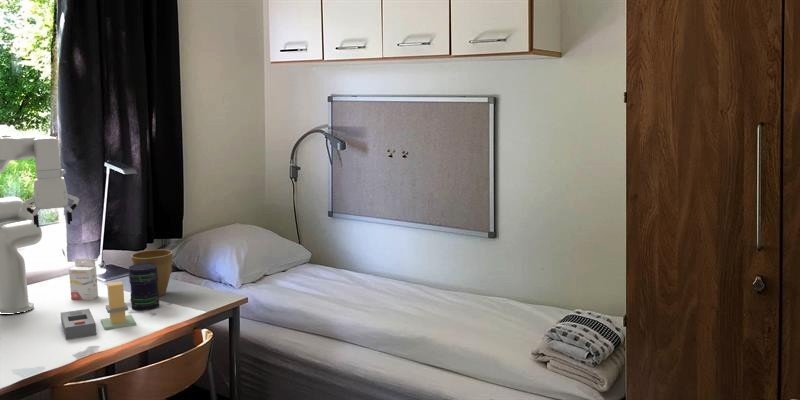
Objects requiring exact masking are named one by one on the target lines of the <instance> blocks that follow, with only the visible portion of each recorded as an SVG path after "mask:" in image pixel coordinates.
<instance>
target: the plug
mask: <svg viewBox="0 0 800 400" xmlns="http://www.w3.org/2000/svg"><path fill="white" fill-rule="evenodd" d="M106 284H107V285H106V286H107V299H108V304H105V310H106V312H107V314H109V318H110V321H111V323H112V324H115V323H121V322H126V317H125V316H126V312H127V311H129V307H128V305H127V303H126V302H125V292H124V284H123V281H121V280H119V281H114V282H113V281H112V282H111V281H110V282H107V283H106Z"/></svg>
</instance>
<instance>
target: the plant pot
mask: <svg viewBox="0 0 800 400" xmlns="http://www.w3.org/2000/svg"><path fill="white" fill-rule="evenodd" d="M173 254H174V253H173V251H172V250H170V249H149V250H142V251H138V252H134V253H132V254H131V255H130V257H131V261H132V265H136V264H143V263H152V264H156V265H157V272H158V281H157V285H158V291H159V297H162V296H164V295H166V292H167V289H168V285H169V281H170V277H171V272H172V266H173V265H172V264H173Z"/></svg>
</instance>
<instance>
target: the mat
mask: <svg viewBox="0 0 800 400" xmlns="http://www.w3.org/2000/svg"><path fill="white" fill-rule="evenodd" d="M125 317H126V322H121V323H115V324H112V323H111V321H110V317H108V318H107V317H106V318H101V319H100V323H101V325H102V327H103V330H105V331H107V330H113V329H119V328H124V327H125V328H126V327H132V326H137V322H136V321H135V318H134V317H133V315H132V314H127V315H126V314H125Z"/></svg>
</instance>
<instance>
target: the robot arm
mask: <svg viewBox="0 0 800 400" xmlns="http://www.w3.org/2000/svg"><path fill="white" fill-rule="evenodd" d="M60 155H61V154H60V143H59V140H58V138H57V137H55V136H45V135H27V136H16V137H15V136H14V135H13V134H12V133H10V132H7V131H0V174H2V173H3V172H5V170H6V168H7V166H8V165H9V164H10V162H11V161H22V160H30V159H35V171H36V178H34V181H33V196H32V197H30V198H29V199H27V200H25V201H24V200H23V199H21V198H20V197H17V196H7V197H0V312H1V313H17V312H24V311H27V312H29V311H28V310H30V311H32V310H33V309H34V308H35V307H34V303H33V302H29V292H28V281H27V280H28V279H27V273H26V271H27V270H26V262H25V259H24V257H23V255H21V253H20V252H19V251H18V249H21V248H26V247H29V246H34V245H37V244H38V243H39V242H41V240H42V237H43V231H42V228H41V226H40V220H39V215H38V213H39V212H40V210H50V209H51V210H52V209H62V208H64V209H65V210H66V221H67V224H68V225H71V222H73V213H72V212H73V211H74V210H75V209H76V208H77V207H78V204H79V202H80V198H79V197H77V196H74V195H72V194H69V193H68V191H67V185H66V181H65V180H66V179H65V178H64V176H63V175H67V171H66V169H62V168H61V156H60ZM69 200H72V201H73V202H72V204H71V205H69ZM31 203H34V206H35V207H34V208H31V206H30V204H31ZM31 309H32V310H31ZM24 313H25V312H24Z"/></svg>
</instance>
